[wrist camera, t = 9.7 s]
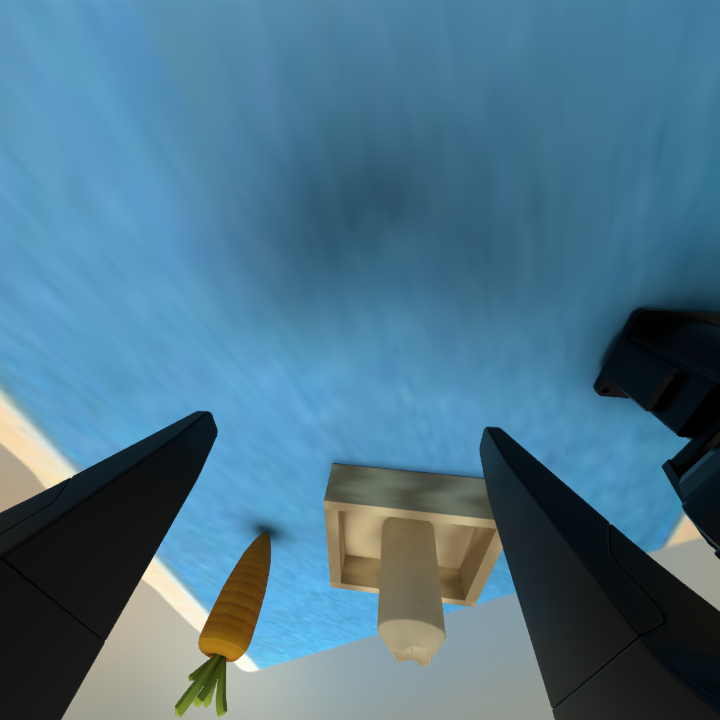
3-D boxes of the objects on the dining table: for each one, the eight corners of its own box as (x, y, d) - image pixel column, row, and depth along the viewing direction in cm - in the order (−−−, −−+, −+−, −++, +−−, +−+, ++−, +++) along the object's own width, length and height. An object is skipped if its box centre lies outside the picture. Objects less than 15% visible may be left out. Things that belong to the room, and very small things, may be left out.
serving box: (500, 480, 27) (515, 522, 23) (466, 566, 35) (474, 607, 31) (332, 463, 28) (323, 500, 25) (337, 549, 36) (330, 586, 33)
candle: (445, 530, 30) (464, 665, 21) (408, 549, 32) (413, 676, 24) (406, 506, 29) (410, 639, 20) (371, 527, 31) (361, 653, 23)
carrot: (293, 536, 36) (235, 728, 23) (268, 547, 38) (202, 729, 25) (263, 516, 34) (183, 709, 21) (239, 527, 36) (152, 711, 23)
